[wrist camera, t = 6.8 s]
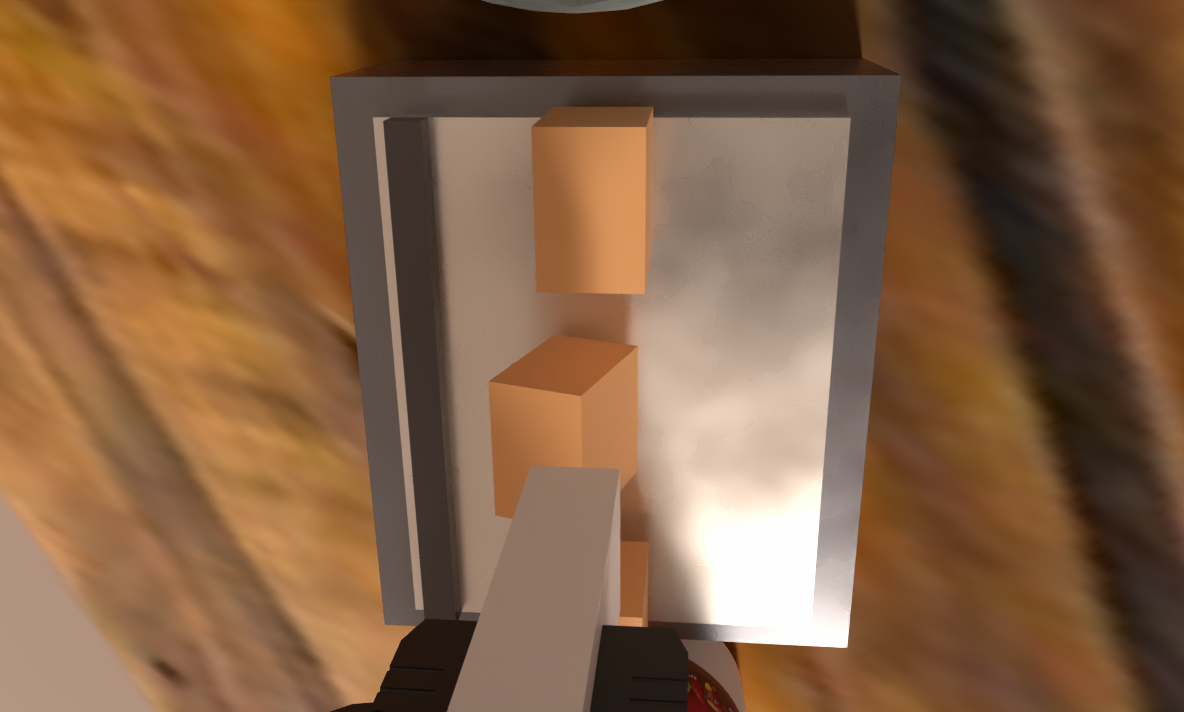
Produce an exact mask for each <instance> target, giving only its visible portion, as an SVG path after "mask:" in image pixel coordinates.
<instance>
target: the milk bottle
mask: <svg viewBox="0 0 1184 712" xmlns="http://www.w3.org/2000/svg"><path fill="white" fill-rule="evenodd" d="M680 640H681V641H682V643H683V645H684V646H685V648H686V650H687V651H688V712H746V711H745V703H744V694H743V687H742V681H741V677H740V673H739V670H738V667H737V665H736V662H735V660H734V659H733V657H732V655H731V653H730V651H729V650H728V648H727V647H726V645H725V644H724V643H723V641H704V640H684V639H680Z"/></svg>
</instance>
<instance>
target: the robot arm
mask: <svg viewBox="0 0 1184 712" xmlns="http://www.w3.org/2000/svg"><path fill="white" fill-rule="evenodd" d="M619 615H620V469H607V468H578V467H549V466H531V467H530V470H529V473H528V476H527V479H526V481H525V484H524V487H523V490H522V493H521V496H520V499H519V502H518V505H517V508H516V511H515V514H514V517H513V520H512V522H511V525H510V528H509V531H508V534H507V537H506V540H505V543H504V546H503V549H502V552H501V555H500V558H499V561H498V564H497V566H496V569H495V572H494V575H493V578H492V581H491V584H490V587H489V590H488V593H487V596H486V599H485V602H484V605H483V607H482V610H481V613H480V616H479V619H478V621H465V620H445V619H424V620H423V621H422V622H421V623H420V624H419V625H418V626H417V627H416V628H414V629H413V630H412V631H411V632H410V633H409V634H408V635H407V636H405V637H404V638H403V639H402V640H401V642H400V644H399V646H398V649H397V651H396V653H395V655H394V658H393V660H392V662H391V664H390V670H389V671H387V673H386V675H385V678H384V680H383V682H382V684H381V687H380V692H378V693H377V696H376V698H375V700H374V702H373V703H361V704H352V705H349V706H346V707H343V708H340V709H337V710H334V711H331V712H688V651H687V650H686V648H685V646H684V645H683V643H682V641H681V640H680V638H679V636H678V635H677V633H676V632H675V630H674V628H656V627H636V626H618V623H619Z"/></svg>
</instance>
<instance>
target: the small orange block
mask: <svg viewBox="0 0 1184 712" xmlns="http://www.w3.org/2000/svg"><path fill="white" fill-rule="evenodd" d="M488 384H489V403H490V423H491V442H492V461H493V481H494V500H495V515H496V516H501V517H505V518H510V519H513V517H514V514H515V511H516V508H517V505H518V502H519V499H520V496H521V493H522V490H523V487H524V484H525V481H526V479H527V476H528V473H529V470H530V467H531V466H549V467H578V468H607V469H620V491H621V489H622V488H623V487H624V486H625V485H626V483H627V482H628V481H629V480H630V479H631V478H632V476H633V475H634V474H635V473H636V472H637V431H638V346H634V345H627V344H619V343H612V342H605V341H597V340H590V339H583V338H575V337H568V336H560V335H553V336H552V337H550V338H549V339H547V340H546V341H545V342H543V343H542V344H540V345H539V346H538V347H536V348H535V349H533V350H532V351H530V352H529V353H528V354H526V355H525V356H523V357H522V358H521V359H519V360H518V361H516V362H515V363H514V364H512V365H511V366H509V367H508V368H507V369H505V370H504V371H502V372H501V373H499V374H498V375H497V376H495V377H494V378H492V379H491V380H490V381H488Z"/></svg>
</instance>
